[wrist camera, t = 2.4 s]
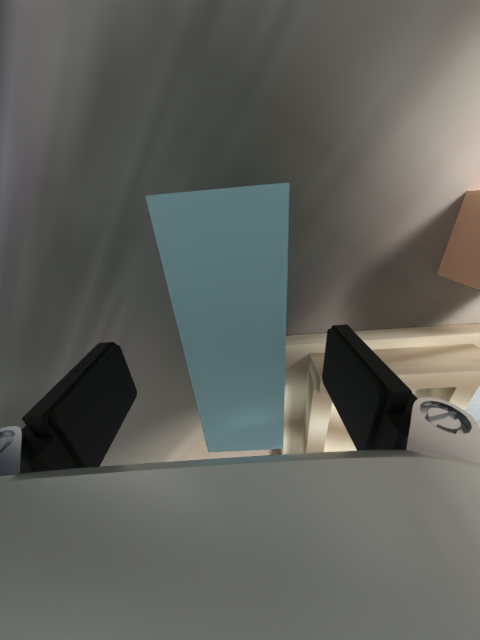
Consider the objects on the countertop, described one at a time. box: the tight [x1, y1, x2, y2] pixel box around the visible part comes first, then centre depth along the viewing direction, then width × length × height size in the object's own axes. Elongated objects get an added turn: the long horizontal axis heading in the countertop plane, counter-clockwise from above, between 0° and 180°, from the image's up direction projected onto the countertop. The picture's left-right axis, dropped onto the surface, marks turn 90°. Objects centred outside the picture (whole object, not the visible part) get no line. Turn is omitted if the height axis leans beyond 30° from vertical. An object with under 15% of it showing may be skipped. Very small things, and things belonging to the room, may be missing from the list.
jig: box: [280, 323, 480, 455], centre depth 18 cm, size 18×14×4 cm
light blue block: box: [145, 182, 290, 452], centre depth 12 cm, size 12×4×6 cm, turn 4°
